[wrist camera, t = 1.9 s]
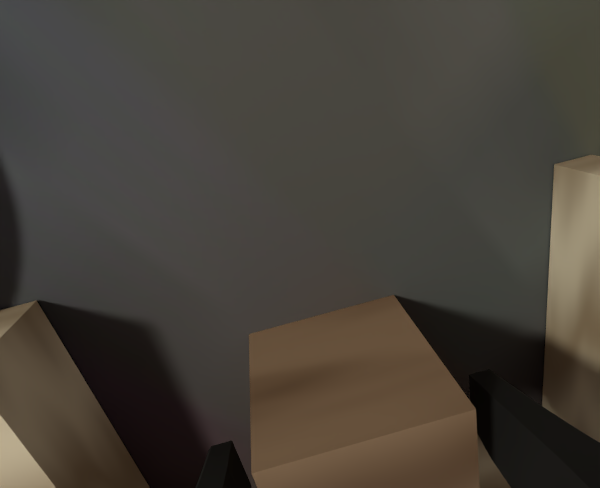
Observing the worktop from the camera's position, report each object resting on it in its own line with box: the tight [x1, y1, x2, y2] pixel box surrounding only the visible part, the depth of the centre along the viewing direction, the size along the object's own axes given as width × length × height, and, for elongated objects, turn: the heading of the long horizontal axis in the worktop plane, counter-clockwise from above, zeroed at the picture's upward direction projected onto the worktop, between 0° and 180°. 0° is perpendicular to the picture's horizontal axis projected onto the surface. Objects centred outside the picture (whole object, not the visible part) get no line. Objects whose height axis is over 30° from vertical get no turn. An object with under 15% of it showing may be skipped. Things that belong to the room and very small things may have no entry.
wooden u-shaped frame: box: [0, 155, 600, 488], centre depth 12 cm, size 12×18×3 cm, turn 103°
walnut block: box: [249, 295, 480, 488], centre depth 11 cm, size 5×5×5 cm
